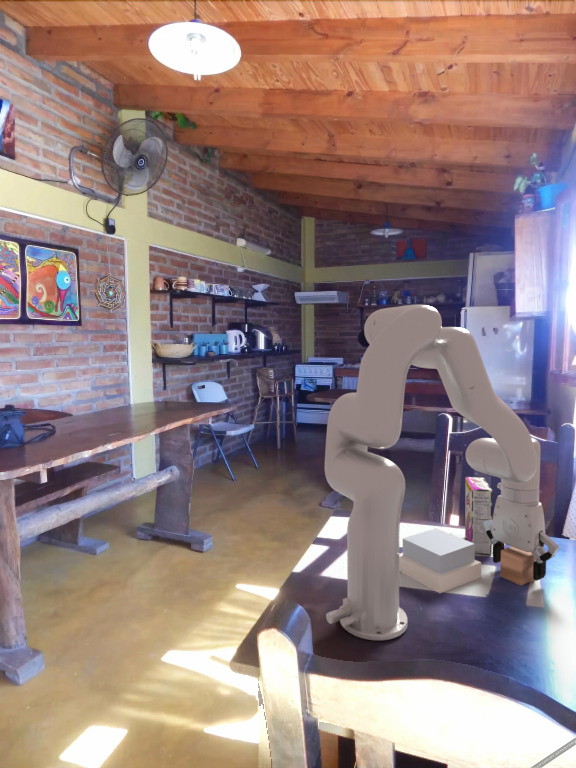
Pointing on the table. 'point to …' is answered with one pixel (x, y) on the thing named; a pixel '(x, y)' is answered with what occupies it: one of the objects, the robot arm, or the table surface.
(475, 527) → the candy bar box
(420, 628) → the table surface
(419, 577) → the tower base
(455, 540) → the tower top
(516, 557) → the terracotta block
